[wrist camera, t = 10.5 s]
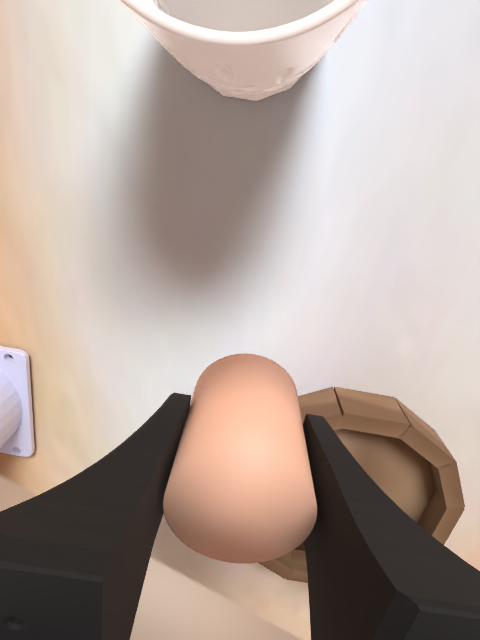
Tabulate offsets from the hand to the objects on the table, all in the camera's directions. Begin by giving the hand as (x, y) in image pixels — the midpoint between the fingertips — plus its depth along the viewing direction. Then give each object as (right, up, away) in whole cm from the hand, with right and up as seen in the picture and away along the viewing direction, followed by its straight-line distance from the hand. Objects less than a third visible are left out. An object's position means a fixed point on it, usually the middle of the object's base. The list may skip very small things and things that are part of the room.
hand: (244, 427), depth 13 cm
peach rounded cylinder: (0, +1, +1) cm, 2 cm away
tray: (+6, -7, +12) cm, 15 cm away
